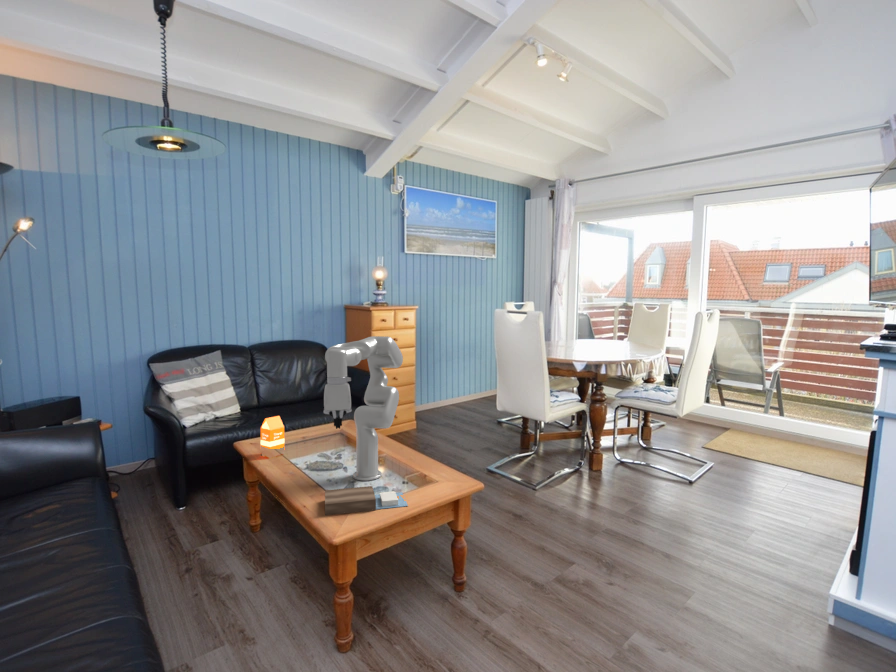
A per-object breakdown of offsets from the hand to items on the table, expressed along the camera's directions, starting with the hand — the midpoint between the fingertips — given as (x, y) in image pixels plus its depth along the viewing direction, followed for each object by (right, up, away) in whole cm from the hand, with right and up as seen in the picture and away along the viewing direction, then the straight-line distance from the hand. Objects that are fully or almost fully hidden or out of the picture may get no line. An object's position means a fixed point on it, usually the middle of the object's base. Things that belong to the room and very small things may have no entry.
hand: (337, 427), depth 177 cm
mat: (+20, -28, -1) cm, 35 cm away
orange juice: (-48, -26, +58) cm, 80 cm away
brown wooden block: (+6, -28, -6) cm, 29 cm away
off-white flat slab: (+20, -27, -2) cm, 34 cm away
